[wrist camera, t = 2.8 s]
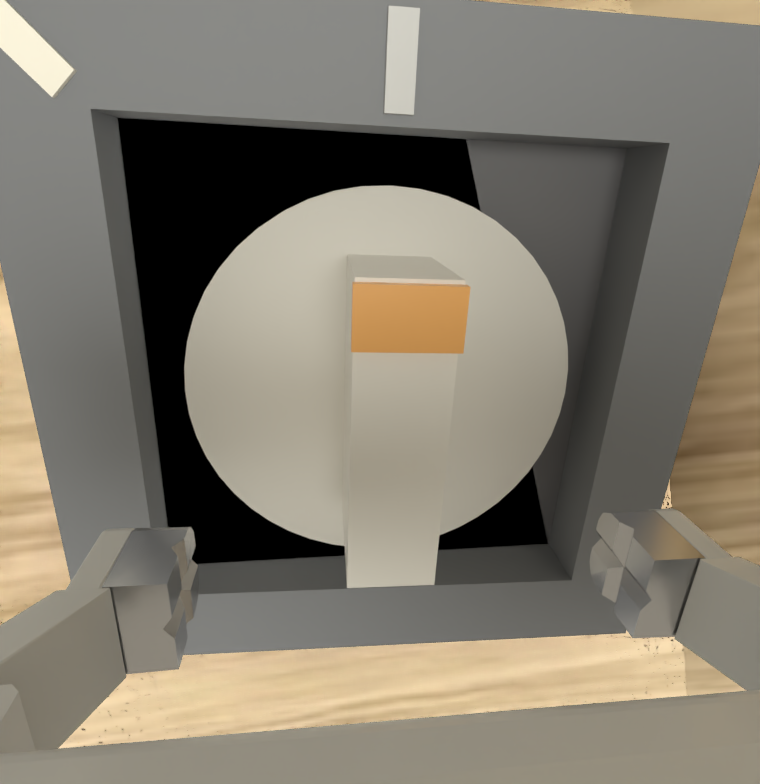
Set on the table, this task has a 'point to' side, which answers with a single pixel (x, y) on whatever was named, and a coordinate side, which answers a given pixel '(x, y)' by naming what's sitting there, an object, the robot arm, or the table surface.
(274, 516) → the dial knob
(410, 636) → the grey square frame
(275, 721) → the table surface
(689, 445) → the table surface
